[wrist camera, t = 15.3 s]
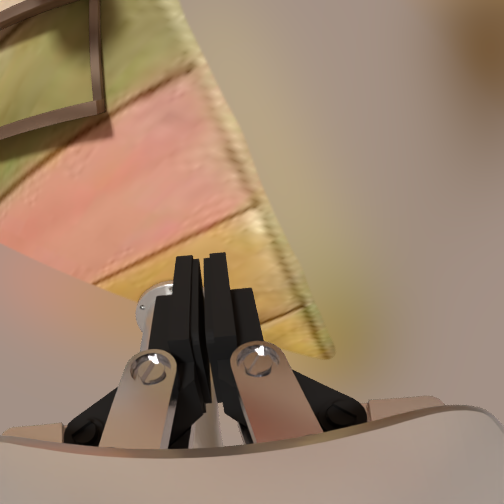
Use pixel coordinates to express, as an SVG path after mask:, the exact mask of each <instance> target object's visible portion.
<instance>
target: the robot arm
mask: <svg viewBox="0 0 504 504" xmlns="http://www.w3.org/2000/svg"><path fill="white" fill-rule="evenodd" d="M136 320H137V324H138V326H139V328H140V330H141V331H142V332H143V336H142V342H141V348H140V352H139V353H138V354H136V355H134V356H133V357H132V358H131V359H130V360H129V361H128V363H127V365H126V367H125V369H124V372H123V375H122V378H121V380H120V383H119V386H118V387H117V388H116V389H114V390H113V391H111V392H110V393H109V394H107V395H106V396H105V397H103V398H102V399H100V400H99V401H98V402H96V403H95V404H93V405H92V406H91V407H89V408H88V409H87V410H85V411H84V412H82V413H81V414H80V415H78V416H77V417H76V418H74V419H73V420H72V421H71V422H70V423H69V424H68V425H63V424H62V423H54V424H44V425H33V426H22V427H12V428H9V429H8V430H6V431H5V432H3V434H2V435H0V504H504V426H503V425H502V423H501V422H500V421H499V420H498V419H497V418H496V417H495V416H494V415H493V414H491V413H490V412H488V411H487V410H485V409H482V408H480V407H474V406H468V405H445V404H444V403H443V402H442V401H441V400H440V399H438V398H435V397H433V396H417V397H406V398H391V399H373V400H369V401H368V403H359V402H358V401H356V400H355V399H353V398H351V397H349V396H347V395H344V394H342V393H340V392H338V391H336V390H334V389H331V388H329V387H327V386H325V385H323V384H321V383H319V382H317V381H315V380H313V379H310V378H308V377H306V376H304V375H302V374H300V373H298V372H296V371H294V370H292V369H291V367H290V365H289V363H288V361H287V359H286V357H285V355H284V353H283V352H282V351H281V349H280V348H278V347H277V346H276V345H274V344H272V343H269V342H265V341H264V340H263V336H262V331H261V327H260V322H259V318H258V313H257V309H256V304H255V300H254V295H253V291H252V288H243V289H232V290H230V285H229V277H228V269H227V261H226V253H225V252H223V253H212V254H210V258H204V287H203V286H202V278H201V270H200V262H199V259H193V256H192V255H189V256H177V257H176V263H175V271H174V279H173V281H166V282H161V283H159V284H156V285H154V286H152V287H151V288H149V289H147V290H146V291H145V292H144V293H143V294H142V296H141V298H140V299H139V301H138V304H137V309H136ZM221 402H223V407H224V412H225V414H227V415H228V416H230V417H231V418H233V419H235V420H236V421H237V422H238V428H239V431H240V434H241V437H242V440H243V443H244V445H236V446H225V447H223V443H222V438H221V431H220V422H219V412H218V403H221Z"/></svg>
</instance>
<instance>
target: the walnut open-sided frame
mask: <svg viewBox="0 0 504 504" xmlns="http://www.w3.org/2000/svg"><path fill="white" fill-rule="evenodd" d="M75 1H78V0H25V1H23V2H21V3H18V4H16V5H14V6H12V7H10V8H7V9H5V10H3V11H1V12H0V30H2V29H4V28H6V27H8V26H11V25H13V24H15V23H17V22H20V21H22V20H25V19H27V18H29V17H32V16H34V15H37V14H40V13H42V12H45V11H48V10H51V9H53V8H56V7H59V6H62V5H65V4H69V3H72V2H75ZM89 41H90V64H91V79H92V91H93V101H91V102H86V103H82V104H77V105H73V106H69V107H65V108H61V109H57V110H53V111H50V112H46V113H43V114H39V115H36V116H32V117H29V118H26V119H22V120H19V121H16V122H13V123H10V124H7V125H4V126H1V127H0V140H1V139H4V138H7V137H10V136H14V135H17V134H20V133H24V132H27V131H30V130H34V129H38V128H41V127H45V126H49V125H53V124H57V123H61V122H65V121H69V120H73V119H78V118H82V117H87V116H92V115H97V114H100V113H103V112H105V111H106V110H105V100H104V88H103V75H102V58H101V31H100V0H89Z"/></svg>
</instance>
